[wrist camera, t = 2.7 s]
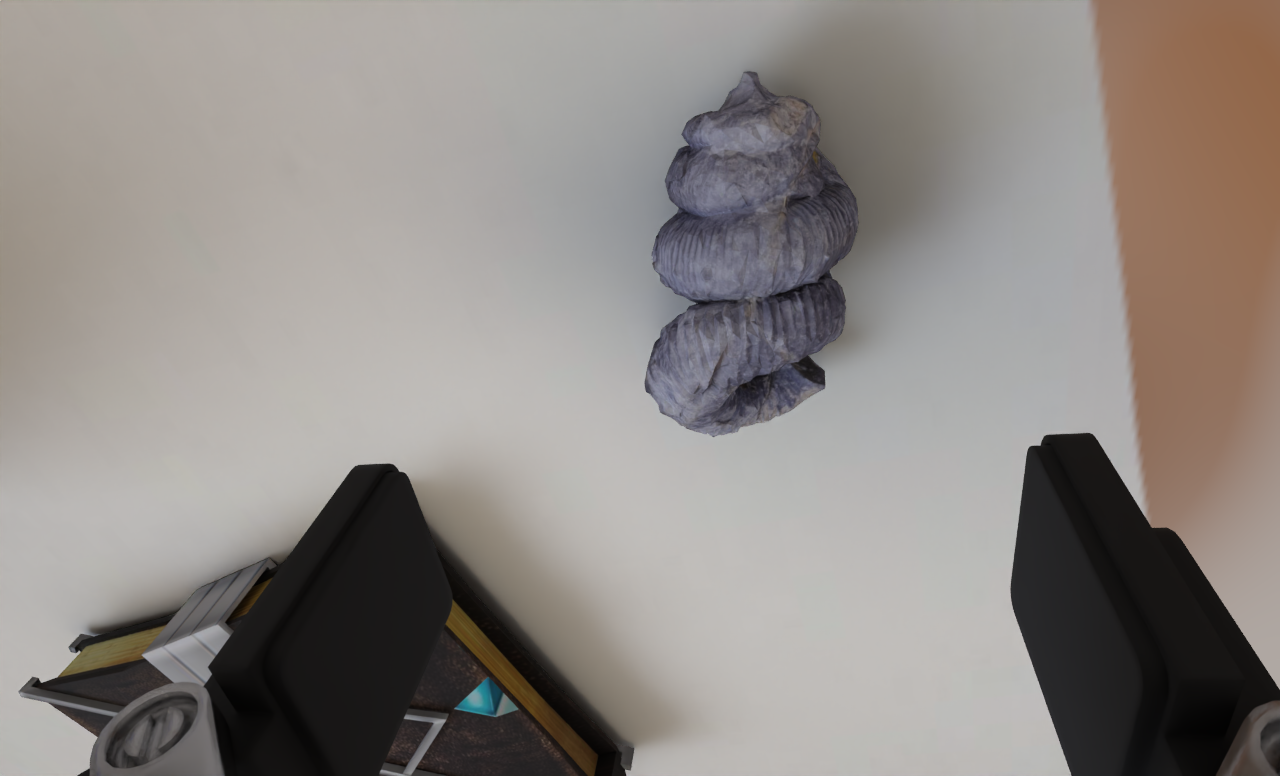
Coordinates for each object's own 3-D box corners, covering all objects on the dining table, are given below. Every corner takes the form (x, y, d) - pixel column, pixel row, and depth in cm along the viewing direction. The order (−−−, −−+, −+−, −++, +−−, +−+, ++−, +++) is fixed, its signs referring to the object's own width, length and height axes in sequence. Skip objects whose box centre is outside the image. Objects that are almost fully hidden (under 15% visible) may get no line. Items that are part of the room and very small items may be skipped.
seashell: (764, 375, 26) (760, 50, 21) (882, 448, 22) (910, 62, 17) (623, 428, 24) (582, 81, 19) (723, 519, 20) (705, 102, 15)
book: (311, 826, 44) (261, 924, 39) (73, 630, 37) (-17, 723, 33) (639, 749, 35) (621, 862, 31) (407, 481, 29) (345, 578, 25)
